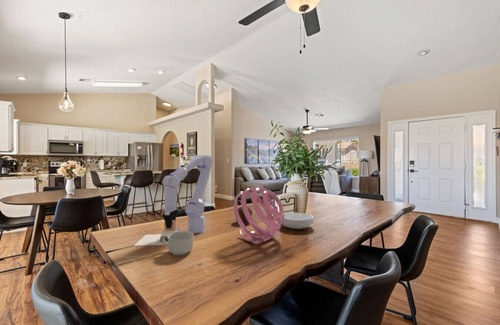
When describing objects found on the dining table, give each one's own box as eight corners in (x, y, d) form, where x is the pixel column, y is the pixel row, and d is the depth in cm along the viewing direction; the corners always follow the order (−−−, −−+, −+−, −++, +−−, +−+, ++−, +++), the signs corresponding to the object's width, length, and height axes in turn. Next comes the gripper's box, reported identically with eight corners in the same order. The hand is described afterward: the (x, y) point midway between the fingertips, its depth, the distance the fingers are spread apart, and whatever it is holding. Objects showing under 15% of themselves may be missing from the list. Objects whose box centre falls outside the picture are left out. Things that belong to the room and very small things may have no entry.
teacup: (198, 250, 108) (198, 232, 108) (183, 259, 98) (183, 240, 97) (172, 246, 112) (172, 229, 112) (156, 255, 102) (156, 236, 102)
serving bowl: (318, 225, 148) (318, 214, 148) (306, 234, 131) (306, 222, 131) (287, 220, 160) (287, 210, 160) (272, 228, 142) (272, 217, 142)
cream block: (179, 231, 125) (179, 227, 125) (176, 236, 118) (176, 231, 118) (165, 232, 124) (165, 227, 124) (161, 236, 117) (161, 231, 117)
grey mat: (183, 234, 130) (183, 233, 130) (177, 245, 114) (177, 244, 114) (145, 235, 128) (145, 234, 128) (133, 246, 112) (133, 245, 112)
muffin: (245, 225, 148) (245, 209, 147) (231, 223, 154) (231, 207, 153) (255, 221, 157) (255, 206, 157) (242, 219, 164) (242, 204, 163)
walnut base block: (180, 236, 126) (180, 231, 126) (177, 241, 118) (177, 236, 118) (164, 236, 125) (164, 231, 125) (160, 241, 117) (160, 236, 117)
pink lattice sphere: (213, 199, 127) (249, 172, 114) (248, 205, 147) (282, 182, 134) (226, 252, 112) (268, 227, 100) (262, 250, 132) (302, 229, 120)
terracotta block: (175, 227, 124) (175, 220, 124) (173, 230, 119) (173, 222, 119) (166, 228, 123) (166, 220, 123) (164, 230, 119) (164, 222, 119)
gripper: (166, 197, 128) (166, 222, 128) (158, 201, 113) (158, 230, 114) (179, 197, 129) (179, 222, 129) (173, 201, 114) (173, 230, 114)
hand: (170, 226), depth 121 cm, fingers open, 7 cm apart
